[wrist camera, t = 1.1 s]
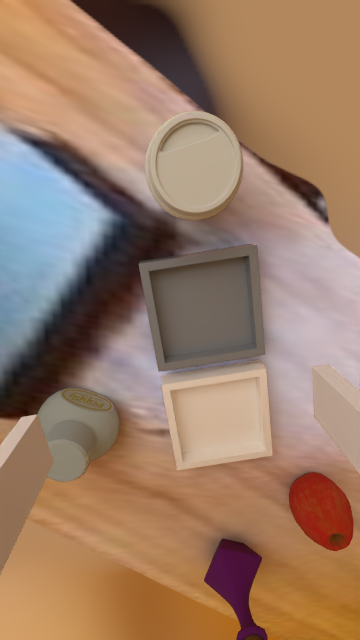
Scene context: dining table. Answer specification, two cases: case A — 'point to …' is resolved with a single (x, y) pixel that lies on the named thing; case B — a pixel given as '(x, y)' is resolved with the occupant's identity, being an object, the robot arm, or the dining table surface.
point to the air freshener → (77, 430)
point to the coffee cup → (194, 165)
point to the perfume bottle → (236, 583)
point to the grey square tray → (204, 306)
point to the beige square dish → (218, 414)
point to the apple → (322, 511)
